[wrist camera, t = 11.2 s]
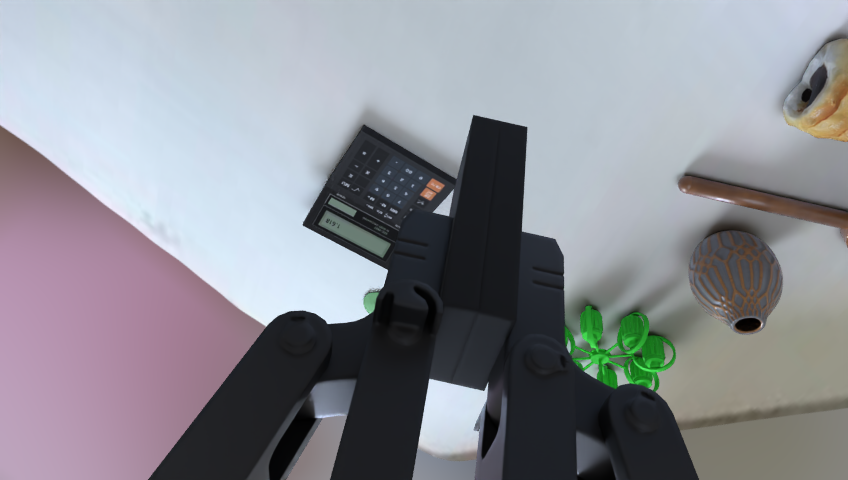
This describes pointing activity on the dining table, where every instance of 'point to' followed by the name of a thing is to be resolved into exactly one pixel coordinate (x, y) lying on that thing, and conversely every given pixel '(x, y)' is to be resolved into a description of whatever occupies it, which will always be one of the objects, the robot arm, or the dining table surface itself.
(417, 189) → the calculator
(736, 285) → the vase
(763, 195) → the wooden spoon
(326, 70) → the dining table surface
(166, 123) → the dining table surface
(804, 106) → the pastry
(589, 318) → the chandelier
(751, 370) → the dining table surface
